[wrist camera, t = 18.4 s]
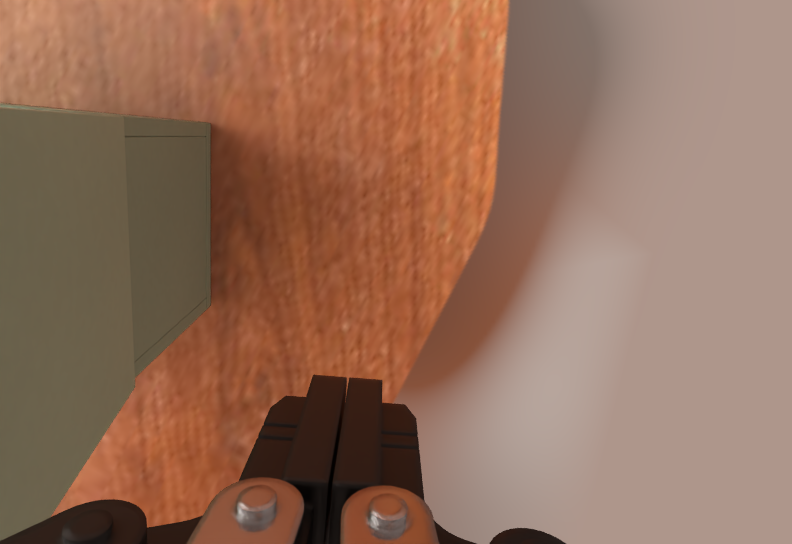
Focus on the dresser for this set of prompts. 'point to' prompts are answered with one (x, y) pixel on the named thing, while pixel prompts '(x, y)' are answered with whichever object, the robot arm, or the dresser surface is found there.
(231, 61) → the dresser surface
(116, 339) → the lid
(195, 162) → the chest
